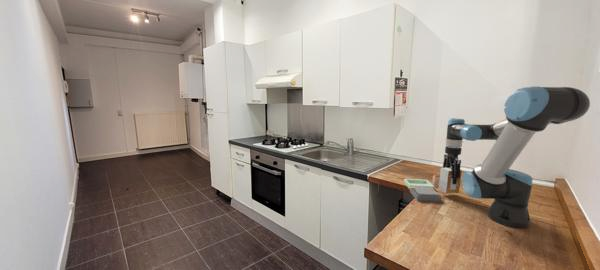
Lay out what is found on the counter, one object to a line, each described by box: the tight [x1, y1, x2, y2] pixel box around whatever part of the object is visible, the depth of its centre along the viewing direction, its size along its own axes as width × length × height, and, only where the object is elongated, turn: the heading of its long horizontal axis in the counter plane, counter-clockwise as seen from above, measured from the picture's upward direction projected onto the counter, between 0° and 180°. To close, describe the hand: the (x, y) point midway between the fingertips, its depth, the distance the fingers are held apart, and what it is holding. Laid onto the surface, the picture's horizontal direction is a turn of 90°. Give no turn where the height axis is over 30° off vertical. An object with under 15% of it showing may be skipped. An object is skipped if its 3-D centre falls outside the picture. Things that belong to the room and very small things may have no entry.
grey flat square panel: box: [413, 186, 440, 196], centre depth 136 cm, size 10×10×1 cm
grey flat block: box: [409, 187, 442, 203], centre depth 137 cm, size 12×12×4 cm
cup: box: [431, 174, 440, 189], centre depth 152 cm, size 7×7×6 cm
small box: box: [438, 167, 463, 194], centre depth 137 cm, size 8×6×13 cm
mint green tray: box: [403, 178, 435, 190], centre depth 151 cm, size 11×14×2 cm
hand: (449, 186), depth 138 cm, fingers closed on small box, 7 cm apart
